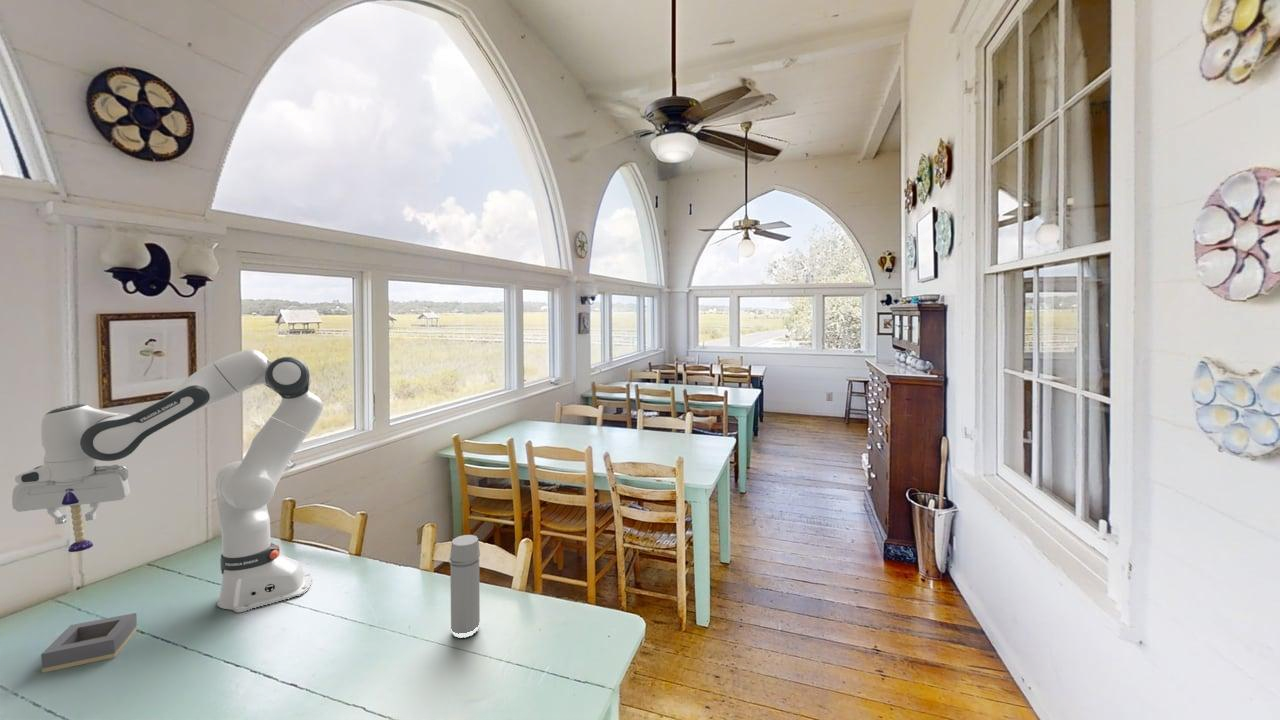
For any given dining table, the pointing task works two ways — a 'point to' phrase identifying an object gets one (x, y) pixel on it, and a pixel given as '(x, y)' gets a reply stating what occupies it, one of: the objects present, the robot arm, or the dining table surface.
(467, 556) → the water bottle
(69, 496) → the toy lamp
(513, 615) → the dining table surface
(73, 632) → the socket block
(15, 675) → the dining table surface
